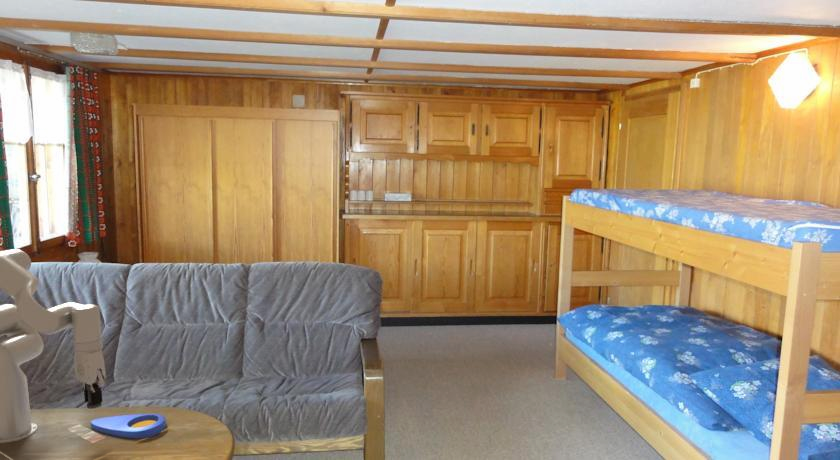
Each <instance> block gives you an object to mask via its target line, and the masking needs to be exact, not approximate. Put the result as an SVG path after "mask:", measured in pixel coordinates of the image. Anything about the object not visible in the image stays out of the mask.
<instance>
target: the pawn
mask: <svg viewBox="0 0 840 460" xmlns="http://www.w3.org/2000/svg"><path fill="white" fill-rule="evenodd" d="M97 384H98V383H97ZM97 384H94V387H95V385H97ZM86 388H87V393H88V402H86V408H87V409H90V410H91V409H96V408H100V407H101V406H102V403H103V402H100V403H98V404H95V405H92V404H91V396H90V393H91V385H89V384H87V385H86Z"/></svg>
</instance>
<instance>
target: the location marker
mask: <svg viewBox="0 0 840 460" xmlns="http://www.w3.org/2000/svg"><path fill="white" fill-rule="evenodd" d="M166 420H167V419H166V417H165V416H164V415H163V414H162V413H136V414H125V415H124V414H123V415H114V416H105V417H100V418H98V417H97V418H95V419H92V420H90V427H91V430H92V429H93V430H95V432H100V433H103V434H106V435H110V436H115V437H121V438H126V439H140V440H142V439H146V438H147V439H148V438H150V437H154V436H157V435H158V434H160V433H161V432H163V431H164V430H165V427H167V423H166Z"/></svg>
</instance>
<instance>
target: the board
mask: <svg viewBox="0 0 840 460" xmlns="http://www.w3.org/2000/svg"><path fill="white" fill-rule="evenodd" d="M66 430H67V431H69V432H70V433H73V434H74V435H76V436H78V437H79V438H82V439H84V440H86V441H87V442H89V443H91V444H95V443H96V442H99V441H102V440H104V439H106V438H107V437H106V436H103V435H101V434H100V433H98V432H97V431H93V430H92V429H90V428H87V427H85V426H83V425H82V424H77V425H74V426H71V427H69V428H66Z"/></svg>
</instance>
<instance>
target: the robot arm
mask: <svg viewBox="0 0 840 460" xmlns="http://www.w3.org/2000/svg"><path fill="white" fill-rule="evenodd" d="M31 266H32V259H31V258H30V255H28V253H26V252H25V251H24V250H22V249H19V248H18V249H17V248H11V249H4V250H0V290H1V291H3V292H4V293H5V294H7V295H8V296H9V297H11V298H12V299H14V304H11V303H4V304H0V337H3V336H5V335H6V336H7V337H5V338H2V339H0V444H7V443H13V442H16V441H20V440H21V441H22V440H23V439H25V438H28V437H30V436H32V435H34V434H35V433H36V432H37V431H38V427H39V426H38V425H37V424H36V423H33V422H32V416H31V407H30V398H29V397H30V395H29V388H28V387H29V385H28V378H27V376H26V374H25V373H24V371H23V370H22V369H21V367H20V366H21V365H23V364H24V363H27V362H28V361H31V360H33V359H35V358H38V356H40V355H41V354H42V352H43V351H44V347H45V346H44V341H43V338H42V336H41V335H40V334H42V335H55V334H57V333H59V332H61V331H63V330H66V329H69V328H71V327H72V336H73V337H72V338H73V347H74V357H73V359H74V361H73V362H74V377H75V380H77V381H79V382H81V383H82V389H83V395H84V403H88V393H87V388H86V385H87V384H89V385H91V393H90V396H91V404H92V405H95V404H98V403H100V402H101V403H103V392H102V391H103V387H104V386H105V385H106V383H105V380H106V366H105V360H104V354H103V351H102V349H104V348H103V336H102V327H101V326H102V325H101V314H100V312H101V311H100V307H99V306H98V305H96V304H91V303H87V304H82V303H78V302H72V301H71V302H64V303H60V304H59V305H55V306H53V307H49V308H45V307H44V306H42V305H41V304H40V303H38V302H37V301H36V300H35V299H34V297H33V295H34V294H35V292H36V291H37V290H38V288H39V286H40V280H39V278H38V277H37V276H35V275H34V274H32V273H31V272H30V271H29V270H30V269H31ZM97 383H98V384H97ZM94 384H97V385H95V387H94Z"/></svg>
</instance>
